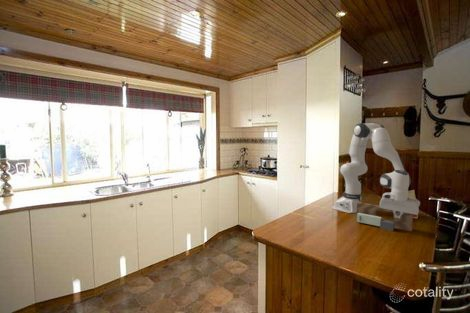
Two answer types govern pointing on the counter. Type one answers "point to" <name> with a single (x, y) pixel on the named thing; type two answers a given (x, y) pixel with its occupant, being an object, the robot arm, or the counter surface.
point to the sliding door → (369, 219)
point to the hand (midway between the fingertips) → (397, 217)
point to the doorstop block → (387, 225)
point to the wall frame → (400, 223)
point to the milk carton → (412, 195)
